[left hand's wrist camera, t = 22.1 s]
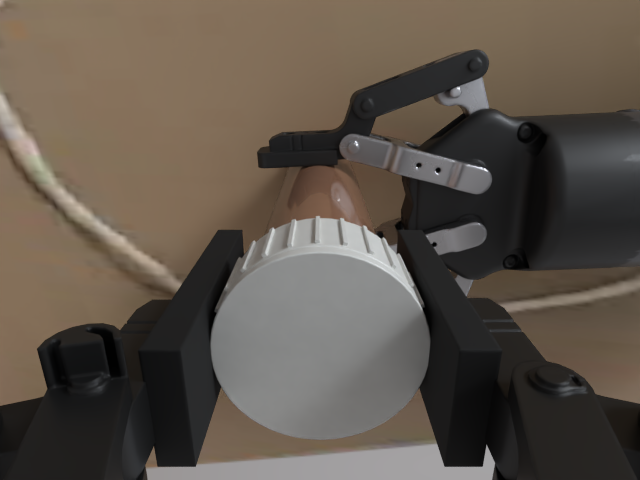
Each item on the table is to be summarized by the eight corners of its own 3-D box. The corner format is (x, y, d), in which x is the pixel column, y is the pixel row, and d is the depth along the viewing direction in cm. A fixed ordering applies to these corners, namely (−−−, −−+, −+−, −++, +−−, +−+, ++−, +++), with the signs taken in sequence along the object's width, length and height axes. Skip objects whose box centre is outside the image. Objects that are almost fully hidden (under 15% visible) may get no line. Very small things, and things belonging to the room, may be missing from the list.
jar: (279, 152, 27) (213, 274, 10) (344, 135, 27) (385, 232, 10) (297, 214, 29) (264, 411, 12) (359, 199, 28) (417, 379, 11)
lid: (207, 229, 11) (180, 266, 9) (405, 201, 11) (427, 233, 9) (247, 389, 13) (232, 453, 11) (419, 368, 13) (440, 429, 11)
